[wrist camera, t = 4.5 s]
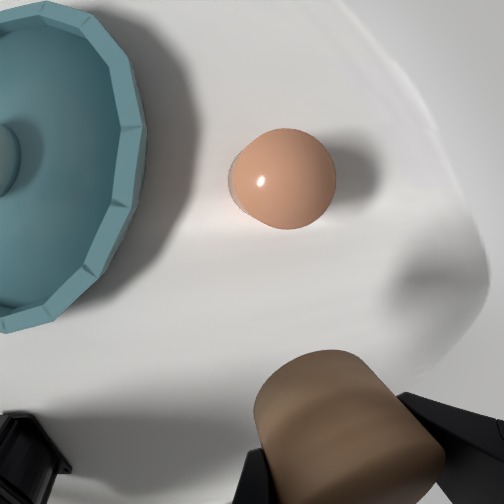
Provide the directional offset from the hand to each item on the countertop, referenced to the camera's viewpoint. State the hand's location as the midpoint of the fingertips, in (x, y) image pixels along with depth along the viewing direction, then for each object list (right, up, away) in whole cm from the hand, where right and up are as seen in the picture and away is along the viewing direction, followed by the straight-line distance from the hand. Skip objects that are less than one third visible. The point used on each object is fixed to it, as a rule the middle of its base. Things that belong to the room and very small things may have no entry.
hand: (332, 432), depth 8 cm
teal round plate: (-17, +11, +6) cm, 21 cm away
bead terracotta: (-2, +9, +9) cm, 13 cm away
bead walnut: (0, 0, +1) cm, 2 cm away
